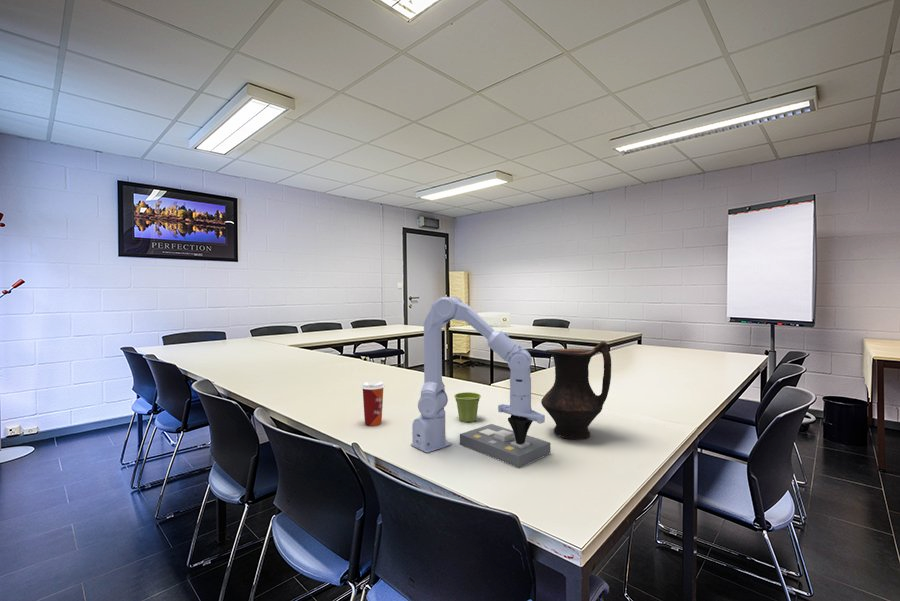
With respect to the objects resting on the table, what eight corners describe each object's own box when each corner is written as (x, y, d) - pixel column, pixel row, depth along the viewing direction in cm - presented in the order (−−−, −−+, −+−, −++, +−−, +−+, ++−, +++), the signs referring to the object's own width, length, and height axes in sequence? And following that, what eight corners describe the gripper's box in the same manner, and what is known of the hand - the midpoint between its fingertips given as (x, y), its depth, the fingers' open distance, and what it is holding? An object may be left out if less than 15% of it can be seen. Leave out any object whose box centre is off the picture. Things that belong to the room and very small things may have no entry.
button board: (518, 468, 99) (518, 455, 99) (459, 444, 116) (459, 433, 116) (550, 453, 109) (550, 442, 109) (491, 433, 125) (491, 423, 125)
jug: (533, 439, 120) (533, 341, 119) (548, 422, 136) (548, 336, 136) (607, 451, 110) (607, 345, 110) (614, 431, 126) (614, 338, 126)
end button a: (488, 445, 114) (488, 435, 114) (478, 441, 117) (478, 431, 117) (497, 442, 116) (497, 432, 116) (487, 438, 119) (487, 428, 119)
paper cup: (382, 427, 131) (382, 385, 131) (359, 427, 131) (359, 385, 131) (386, 419, 139) (386, 380, 139) (364, 419, 139) (364, 380, 139)
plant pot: (471, 425, 132) (471, 400, 132) (449, 420, 138) (449, 396, 138) (485, 418, 140) (485, 394, 140) (464, 414, 145) (464, 391, 145)
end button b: (521, 458, 105) (521, 446, 105) (510, 453, 108) (510, 442, 108) (530, 454, 108) (530, 443, 108) (519, 449, 111) (519, 439, 110)
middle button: (504, 447, 109) (504, 436, 109) (493, 443, 112) (493, 432, 112) (513, 443, 112) (513, 433, 112) (502, 439, 115) (502, 429, 115)
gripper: (551, 396, 105) (551, 446, 105) (509, 387, 116) (509, 433, 116) (535, 401, 100) (535, 453, 100) (493, 391, 111) (493, 438, 111)
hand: (520, 443), depth 108 cm, fingers closed, pressing on end button b
